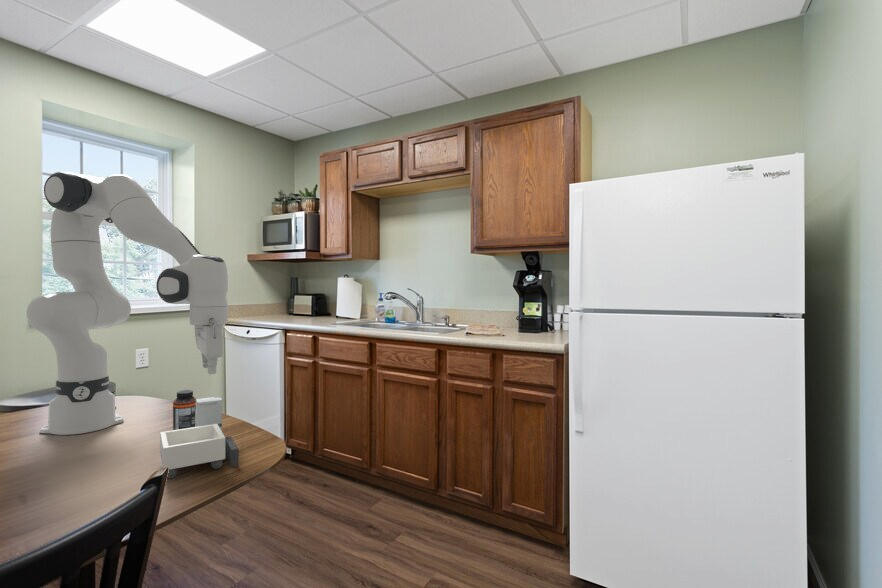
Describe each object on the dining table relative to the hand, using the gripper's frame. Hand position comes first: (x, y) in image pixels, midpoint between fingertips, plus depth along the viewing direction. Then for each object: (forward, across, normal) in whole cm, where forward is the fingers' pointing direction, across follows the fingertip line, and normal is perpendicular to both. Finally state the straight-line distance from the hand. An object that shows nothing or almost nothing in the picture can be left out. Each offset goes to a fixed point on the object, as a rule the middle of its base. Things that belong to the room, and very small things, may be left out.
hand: (209, 370), depth 116 cm
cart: (+20, -13, +5) cm, 24 cm away
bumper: (+20, -13, -3) cm, 24 cm away
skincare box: (+20, 0, 0) cm, 20 cm away
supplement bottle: (+20, +16, +4) cm, 26 cm away
